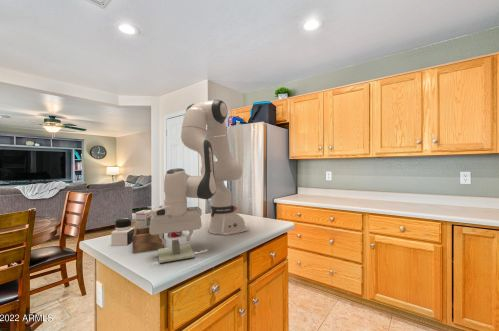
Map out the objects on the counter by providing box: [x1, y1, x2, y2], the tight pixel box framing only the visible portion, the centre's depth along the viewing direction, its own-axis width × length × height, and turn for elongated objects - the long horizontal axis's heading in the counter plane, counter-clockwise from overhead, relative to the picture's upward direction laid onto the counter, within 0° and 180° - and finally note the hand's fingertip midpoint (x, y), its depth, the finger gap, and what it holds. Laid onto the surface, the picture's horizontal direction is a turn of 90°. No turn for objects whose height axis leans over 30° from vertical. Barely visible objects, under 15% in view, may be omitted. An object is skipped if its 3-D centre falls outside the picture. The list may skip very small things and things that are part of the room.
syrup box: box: [135, 209, 153, 229], centre depth 111 cm, size 6×6×14 cm
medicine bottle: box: [110, 218, 135, 247], centre depth 105 cm, size 7×7×12 cm
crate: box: [132, 227, 165, 254], centre depth 100 cm, size 12×12×8 cm
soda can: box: [167, 231, 183, 239], centre depth 116 cm, size 7×7×13 cm
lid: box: [157, 239, 196, 264], centre depth 92 cm, size 13×13×6 cm
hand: (176, 242), depth 92 cm, fingers open, 8 cm apart
